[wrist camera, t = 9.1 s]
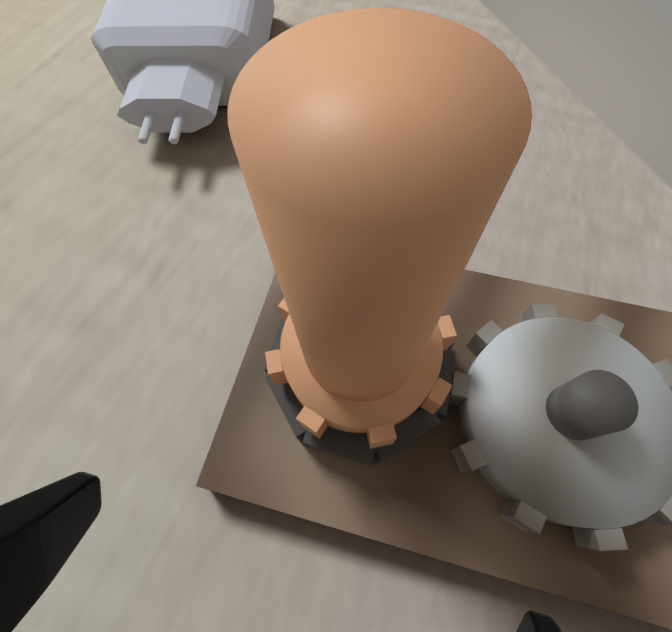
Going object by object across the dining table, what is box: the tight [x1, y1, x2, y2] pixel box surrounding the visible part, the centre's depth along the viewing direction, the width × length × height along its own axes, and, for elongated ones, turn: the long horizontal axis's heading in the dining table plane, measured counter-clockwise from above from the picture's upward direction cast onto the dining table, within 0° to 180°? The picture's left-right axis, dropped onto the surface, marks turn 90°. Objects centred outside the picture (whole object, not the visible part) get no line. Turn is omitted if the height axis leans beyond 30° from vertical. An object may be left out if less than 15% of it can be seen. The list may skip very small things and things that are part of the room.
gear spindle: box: [227, 8, 532, 449], centre depth 11 cm, size 7×7×13 cm
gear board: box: [196, 270, 672, 630], centre depth 16 cm, size 18×12×5 cm, turn 75°
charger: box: [91, 0, 274, 144], centre depth 25 cm, size 5×9×15 cm
